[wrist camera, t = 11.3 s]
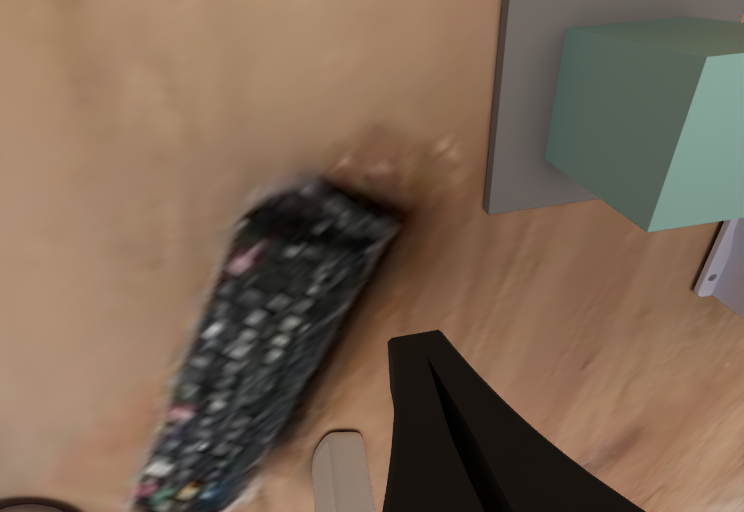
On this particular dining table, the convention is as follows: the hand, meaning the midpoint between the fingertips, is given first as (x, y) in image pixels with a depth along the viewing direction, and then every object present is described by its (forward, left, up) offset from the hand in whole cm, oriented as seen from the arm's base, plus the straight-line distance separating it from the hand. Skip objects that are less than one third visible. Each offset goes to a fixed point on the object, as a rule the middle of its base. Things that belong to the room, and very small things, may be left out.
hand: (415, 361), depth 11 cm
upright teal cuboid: (+4, -11, -9) cm, 15 cm away
